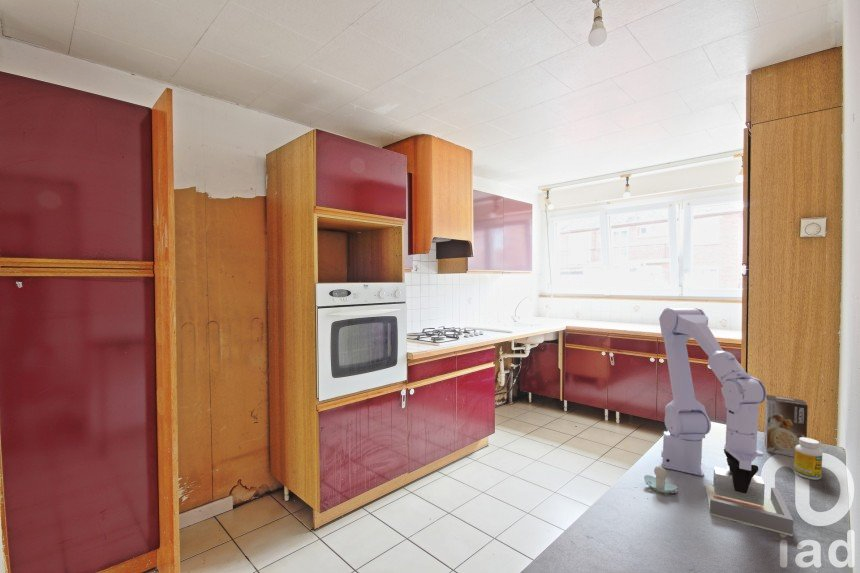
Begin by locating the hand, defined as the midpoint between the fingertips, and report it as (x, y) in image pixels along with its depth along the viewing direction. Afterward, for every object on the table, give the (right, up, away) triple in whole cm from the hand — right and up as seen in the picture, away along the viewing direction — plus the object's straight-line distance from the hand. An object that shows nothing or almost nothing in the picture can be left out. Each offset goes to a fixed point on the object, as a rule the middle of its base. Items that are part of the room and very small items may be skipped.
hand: (738, 487), depth 95 cm
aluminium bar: (0, -2, 0) cm, 2 cm away
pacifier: (-14, -4, +6) cm, 16 cm away
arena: (0, -4, -2) cm, 4 cm away
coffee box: (+35, -3, +28) cm, 45 cm away
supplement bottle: (+29, -4, +14) cm, 32 cm away
